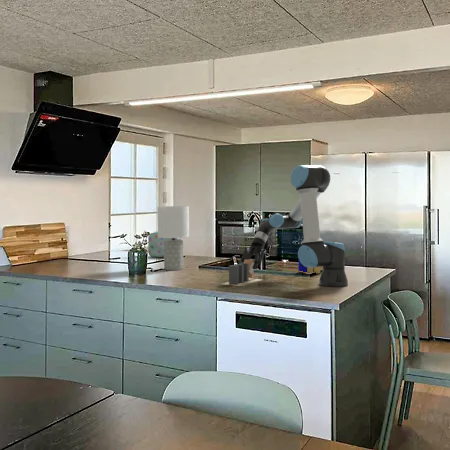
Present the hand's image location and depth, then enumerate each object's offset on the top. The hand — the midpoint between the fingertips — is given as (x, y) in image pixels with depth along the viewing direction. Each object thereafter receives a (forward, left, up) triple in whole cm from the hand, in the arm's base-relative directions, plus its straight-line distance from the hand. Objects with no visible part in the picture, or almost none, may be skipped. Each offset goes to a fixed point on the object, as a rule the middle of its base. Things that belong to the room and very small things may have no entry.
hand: (245, 272), depth 297 cm
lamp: (+67, -21, -5) cm, 70 cm away
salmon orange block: (0, -4, -3) cm, 5 cm away
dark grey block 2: (0, +3, -5) cm, 5 cm away
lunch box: (+114, -73, -5) cm, 136 cm away
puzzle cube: (-18, -48, -5) cm, 52 cm away
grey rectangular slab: (0, +8, -5) cm, 9 cm away
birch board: (0, +5, -5) cm, 7 cm away
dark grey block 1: (0, +14, -5) cm, 14 cm away
